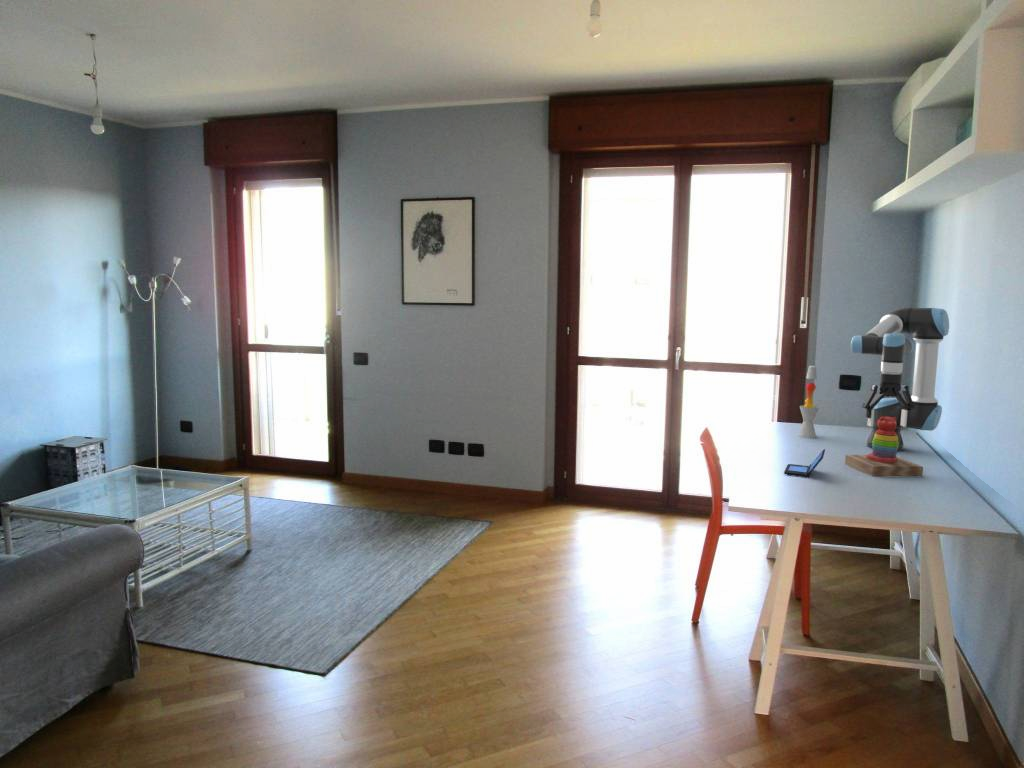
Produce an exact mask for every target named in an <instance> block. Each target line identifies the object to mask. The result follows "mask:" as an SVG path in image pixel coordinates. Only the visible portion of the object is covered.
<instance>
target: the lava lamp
mask: <svg viewBox="0 0 1024 768" xmlns="http://www.w3.org/2000/svg"><path fill="white" fill-rule="evenodd" d="M807 368H808V369H807V373H806V377H805V379H806V380H817V379H818V377H817V376H818V375H817V367H816V365H809V366H808V367H807ZM816 388H817V387H816V384H814V382H808V383H807V384H806V387H805V389H806V394H807V398H806V399H805V400H804V403H805V404H800V405H799V409H800V413H801V415H802V419H803V421H802V424H801V426H800V428H799V430H798V433H797V436H798V435H799V436H798V437H800V436H802V437H801V438H805V437H807V438H806V439H815V438H817V434H816V430H815V427H814V425H815V424H814V420H815V418H816V416H817V413H818V411H819V409H820V406H817V405H814V404H813V402H814V400H813V393H814V392H815V390H816Z"/></svg>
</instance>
